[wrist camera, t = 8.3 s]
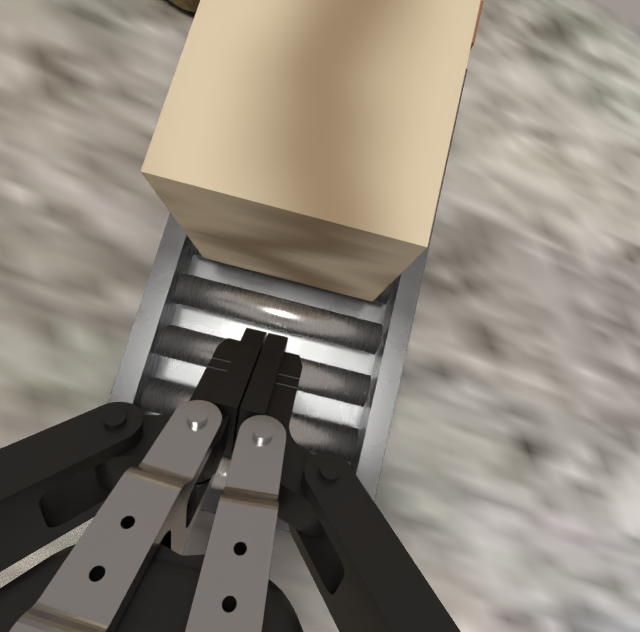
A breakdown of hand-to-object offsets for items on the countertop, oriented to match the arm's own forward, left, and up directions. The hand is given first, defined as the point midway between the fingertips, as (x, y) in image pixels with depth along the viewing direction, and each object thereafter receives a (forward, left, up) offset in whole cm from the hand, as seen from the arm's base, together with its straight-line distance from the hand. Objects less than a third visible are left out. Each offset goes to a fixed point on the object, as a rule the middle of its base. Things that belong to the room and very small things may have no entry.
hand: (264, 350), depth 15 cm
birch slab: (0, +9, -4) cm, 9 cm away
